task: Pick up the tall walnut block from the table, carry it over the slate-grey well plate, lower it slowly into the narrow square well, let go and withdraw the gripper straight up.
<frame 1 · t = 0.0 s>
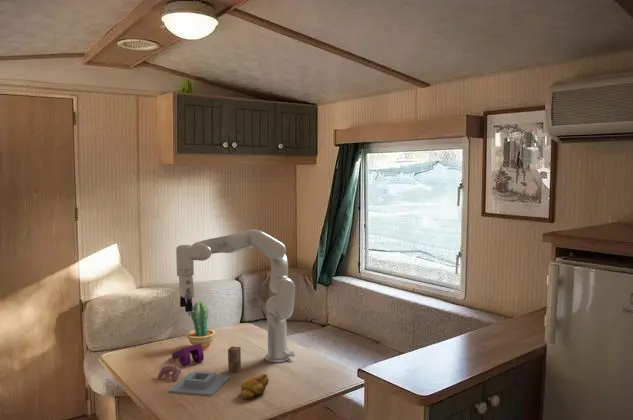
hand: (186, 308, 235), 31 cm above the table, tool pointing down, fingers open, 9 cm apart
walnut block: (234, 371, 242), on the table
video game controller: (169, 379, 234), on the table
bread roll: (252, 395, 215), on the table
potted cactus: (201, 348, 275), on the table
well plate: (200, 384, 226), on the table
mounting bracket: (186, 361, 256), on the table
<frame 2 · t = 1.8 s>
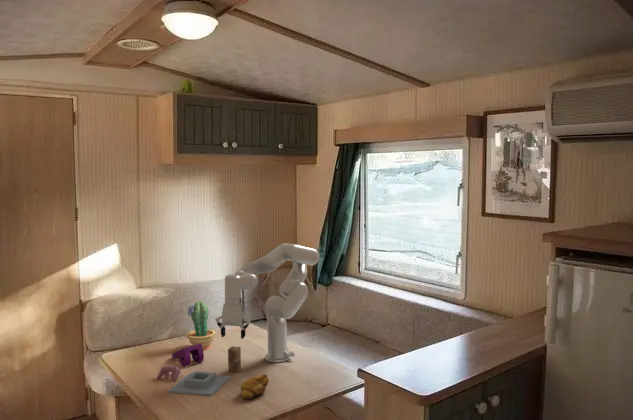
hand: (233, 337, 240), 16 cm above the table, tool pointing down, fingers open, 9 cm apart
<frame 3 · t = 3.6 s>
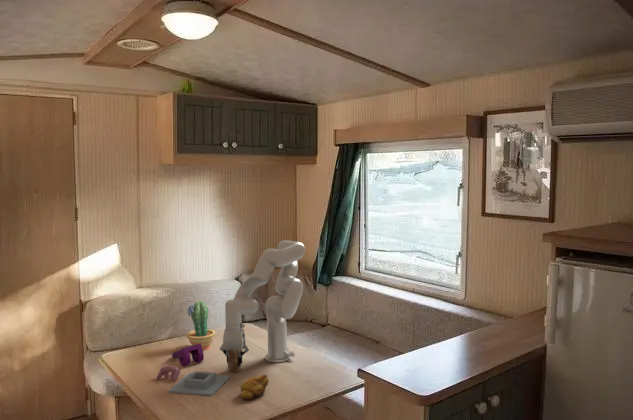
hand: (234, 364, 241), 3 cm above the table, tool pointing down, fingers closed on walnut block, 4 cm apart
walnut block: (234, 371, 242), on the table, touching gripper
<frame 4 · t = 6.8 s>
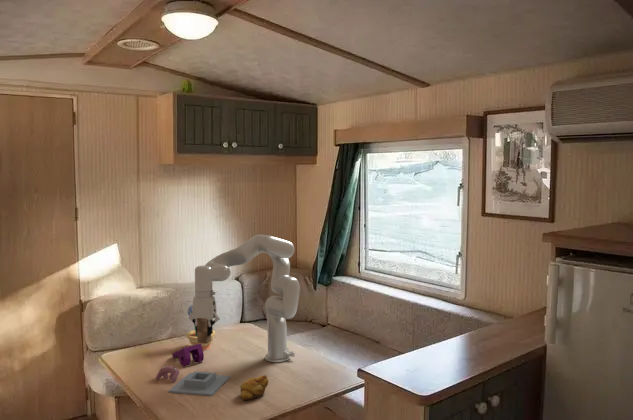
hand: (204, 334, 227), 22 cm above the table, tool pointing down, fingers closed on walnut block, 4 cm apart
walnut block: (204, 341, 227), point 19 cm above the table, touching gripper
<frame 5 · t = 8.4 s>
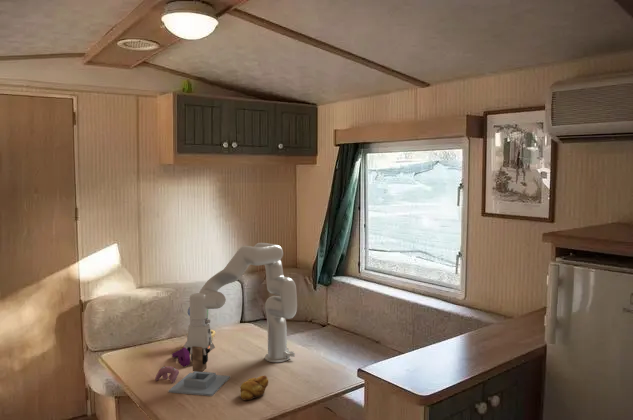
hand: (199, 362, 225), 10 cm above the table, tool pointing down, fingers closed on walnut block, 4 cm apart
walnut block: (199, 369, 225), point 7 cm above the table, touching gripper
when the fingers open (5 cm above the table, at t = 9.9 s): walnut block stays where it is, resting on well plate.
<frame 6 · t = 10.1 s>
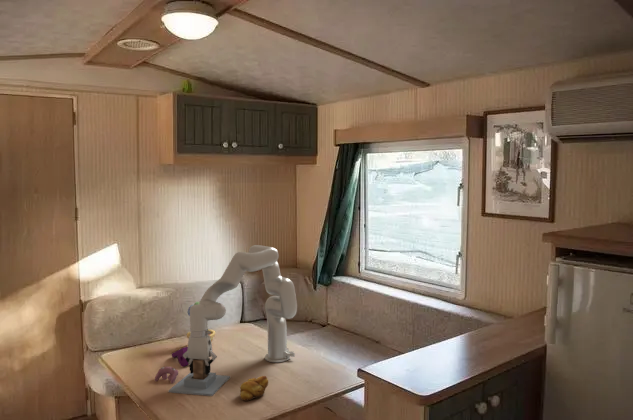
hand: (200, 372, 226), 5 cm above the table, tool pointing down, fingers open, 6 cm apart
walnut block: (200, 382, 226), point 1 cm above the table, touching well plate
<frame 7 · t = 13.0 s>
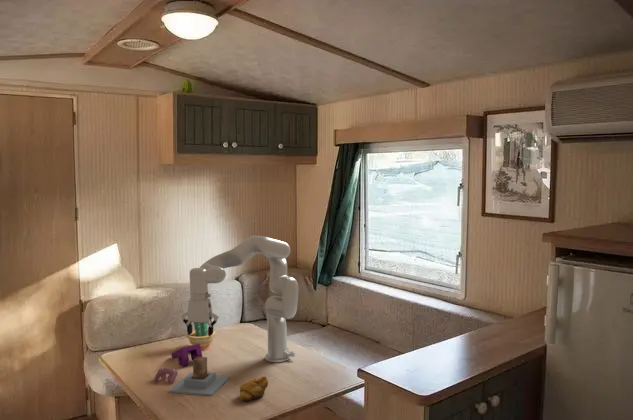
hand: (200, 334, 225), 22 cm above the table, tool pointing down, fingers open, 9 cm apart
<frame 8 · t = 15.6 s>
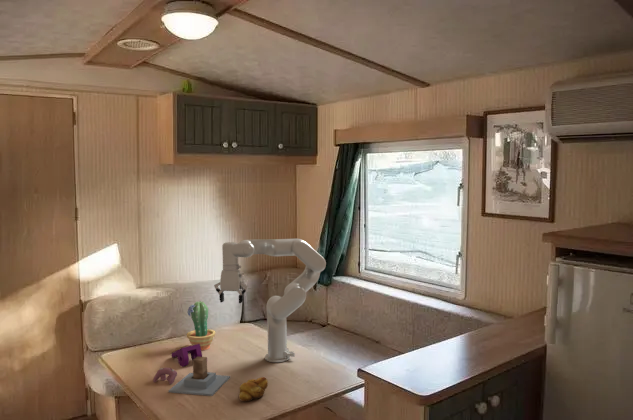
hand: (231, 302, 250), 30 cm above the table, tool pointing down, fingers open, 9 cm apart
at the end: walnut block 0.1 cm off-centre on the well plate, point 0.8 cm above the well plate's base; walnut block tilted 0°; the gripper is holding nothing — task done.
